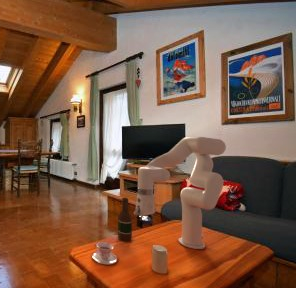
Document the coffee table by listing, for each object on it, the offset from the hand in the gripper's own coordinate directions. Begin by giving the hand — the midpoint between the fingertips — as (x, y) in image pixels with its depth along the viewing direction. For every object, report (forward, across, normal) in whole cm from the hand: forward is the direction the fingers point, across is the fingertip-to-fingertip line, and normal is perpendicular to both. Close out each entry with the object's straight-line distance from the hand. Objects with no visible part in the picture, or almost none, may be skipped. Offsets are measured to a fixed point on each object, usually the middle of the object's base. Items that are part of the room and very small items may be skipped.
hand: (144, 225), depth 111 cm
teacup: (+14, -22, +6) cm, 27 cm away
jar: (+14, -6, -13) cm, 20 cm away
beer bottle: (+14, +3, +16) cm, 21 cm away
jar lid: (-4, 0, 0) cm, 4 cm away
